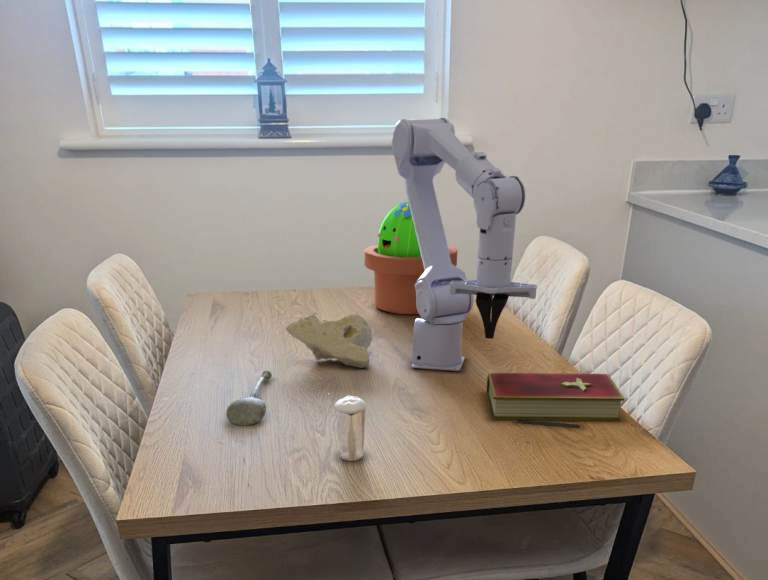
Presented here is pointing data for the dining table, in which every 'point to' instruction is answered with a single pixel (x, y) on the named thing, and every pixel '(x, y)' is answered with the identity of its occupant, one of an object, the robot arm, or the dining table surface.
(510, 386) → the hardcover book
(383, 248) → the potted cactus
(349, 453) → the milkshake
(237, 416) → the soupspoon
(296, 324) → the beige rock fragment
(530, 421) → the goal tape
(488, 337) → the robot arm
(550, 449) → the dining table surface
